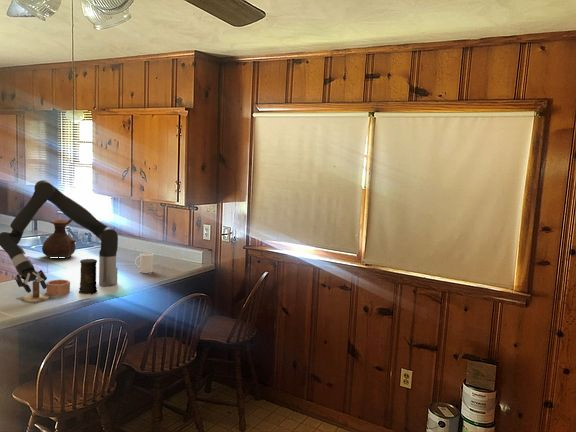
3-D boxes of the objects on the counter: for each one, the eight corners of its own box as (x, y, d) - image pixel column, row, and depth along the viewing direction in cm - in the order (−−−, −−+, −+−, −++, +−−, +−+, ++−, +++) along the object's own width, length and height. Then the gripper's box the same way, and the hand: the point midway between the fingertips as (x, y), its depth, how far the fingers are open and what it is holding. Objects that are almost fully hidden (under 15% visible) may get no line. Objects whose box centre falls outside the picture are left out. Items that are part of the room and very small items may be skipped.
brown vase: (54, 262, 316) (54, 218, 313) (35, 257, 327) (35, 215, 323) (82, 257, 335) (83, 216, 331) (64, 253, 345) (64, 213, 342)
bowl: (60, 289, 255) (60, 278, 255) (74, 292, 251) (74, 281, 250) (41, 293, 246) (41, 282, 245) (56, 297, 241) (56, 286, 240)
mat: (37, 294, 244) (37, 293, 244) (56, 299, 238) (56, 298, 238) (15, 299, 233) (15, 298, 233) (34, 305, 227) (34, 304, 227)
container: (75, 292, 251) (75, 260, 249) (90, 289, 258) (91, 257, 256) (85, 296, 246) (85, 262, 244) (100, 292, 254) (100, 260, 252)
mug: (132, 272, 300) (132, 254, 299) (137, 269, 309) (138, 252, 307) (150, 274, 299) (150, 256, 298) (155, 271, 308) (155, 253, 307)
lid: (39, 293, 243) (39, 277, 242) (54, 297, 238) (54, 281, 237) (17, 299, 233) (17, 282, 232) (32, 303, 228) (32, 286, 227)
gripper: (12, 262, 230) (27, 288, 227) (39, 258, 243) (53, 282, 239) (6, 271, 233) (20, 297, 230) (32, 266, 246) (46, 291, 242)
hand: (37, 290), depth 234 cm, fingers open, 8 cm apart
